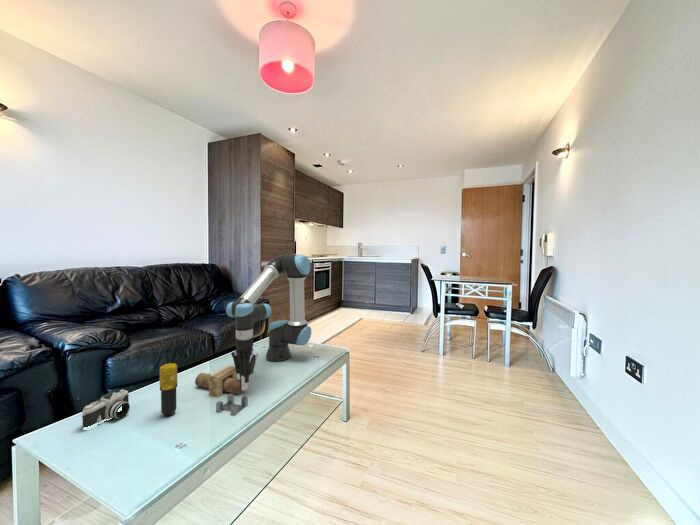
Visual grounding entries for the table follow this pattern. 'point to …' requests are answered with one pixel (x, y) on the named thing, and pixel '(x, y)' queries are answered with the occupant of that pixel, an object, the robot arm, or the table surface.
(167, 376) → the microphone
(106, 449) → the table surface
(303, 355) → the table surface
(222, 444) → the table surface
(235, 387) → the axle
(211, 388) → the wooden arch block
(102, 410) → the camera
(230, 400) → the grey h-shaped block
